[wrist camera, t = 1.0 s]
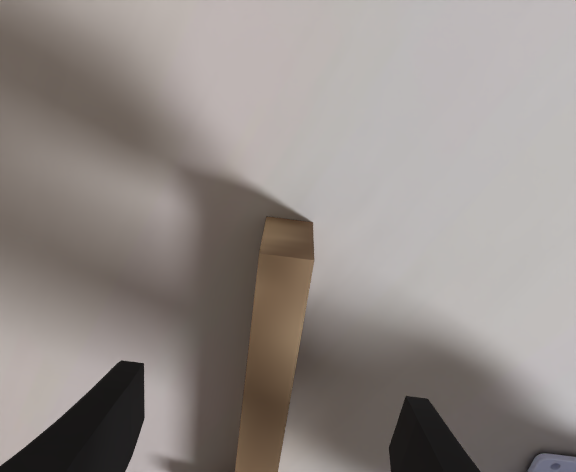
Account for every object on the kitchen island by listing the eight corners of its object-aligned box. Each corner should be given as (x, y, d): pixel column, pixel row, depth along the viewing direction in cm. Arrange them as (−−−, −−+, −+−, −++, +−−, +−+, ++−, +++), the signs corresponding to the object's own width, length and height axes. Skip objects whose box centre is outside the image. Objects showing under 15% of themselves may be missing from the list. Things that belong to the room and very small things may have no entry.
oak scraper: (353, 227, 19) (363, 266, 16) (297, 496, 27) (296, 559, 24) (225, 210, 19) (209, 246, 16) (205, 485, 27) (192, 547, 24)
